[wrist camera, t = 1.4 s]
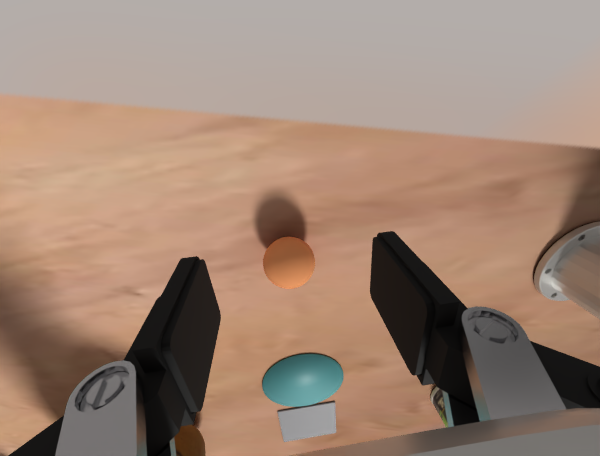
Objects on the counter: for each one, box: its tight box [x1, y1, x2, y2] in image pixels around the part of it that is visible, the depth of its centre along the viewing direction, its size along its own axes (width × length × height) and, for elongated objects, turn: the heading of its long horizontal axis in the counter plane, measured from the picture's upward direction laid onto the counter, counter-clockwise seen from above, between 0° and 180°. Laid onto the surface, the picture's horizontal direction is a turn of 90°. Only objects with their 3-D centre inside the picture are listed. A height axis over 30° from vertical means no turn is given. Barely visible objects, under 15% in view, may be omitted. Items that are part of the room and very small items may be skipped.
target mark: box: [262, 354, 343, 407], centre depth 41 cm, size 13×13×1 cm
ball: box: [263, 237, 315, 289], centre depth 28 cm, size 6×6×6 cm
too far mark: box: [278, 401, 336, 442], centre depth 47 cm, size 10×10×1 cm
